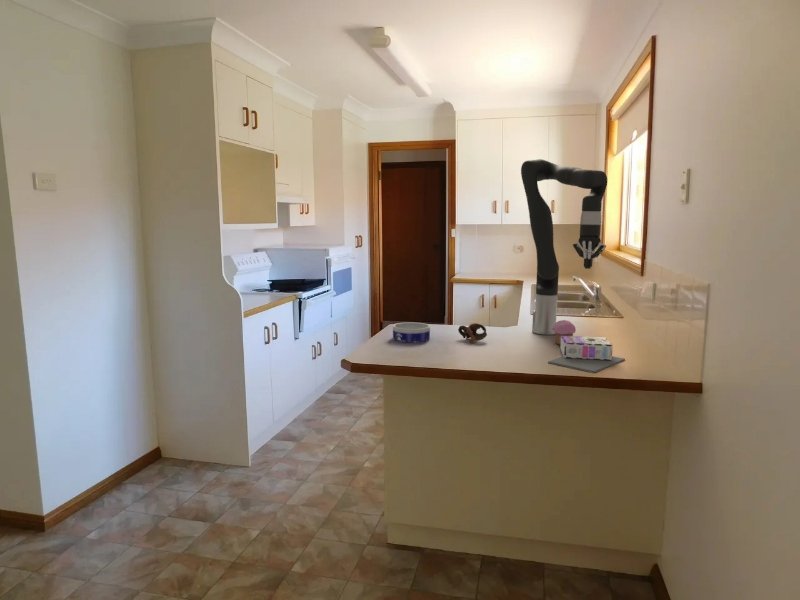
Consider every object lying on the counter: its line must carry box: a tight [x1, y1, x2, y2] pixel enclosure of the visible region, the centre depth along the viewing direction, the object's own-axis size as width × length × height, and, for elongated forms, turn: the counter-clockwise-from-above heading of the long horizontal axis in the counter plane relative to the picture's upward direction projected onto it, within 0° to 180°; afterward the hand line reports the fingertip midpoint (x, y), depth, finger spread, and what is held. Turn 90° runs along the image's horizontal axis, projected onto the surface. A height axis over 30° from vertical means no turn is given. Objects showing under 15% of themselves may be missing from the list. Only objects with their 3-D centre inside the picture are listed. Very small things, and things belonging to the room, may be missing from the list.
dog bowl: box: [392, 321, 431, 344], centre depth 227 cm, size 15×15×6 cm
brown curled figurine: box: [457, 322, 488, 344], centre depth 226 cm, size 12×10×8 cm
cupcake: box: [552, 319, 577, 346], centre depth 220 cm, size 9×9×10 cm
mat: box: [547, 355, 626, 374], centre depth 195 cm, size 17×24×1 cm
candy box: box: [560, 335, 613, 360], centre depth 201 cm, size 14×6×16 cm
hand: (587, 268), depth 214 cm, fingers closed
